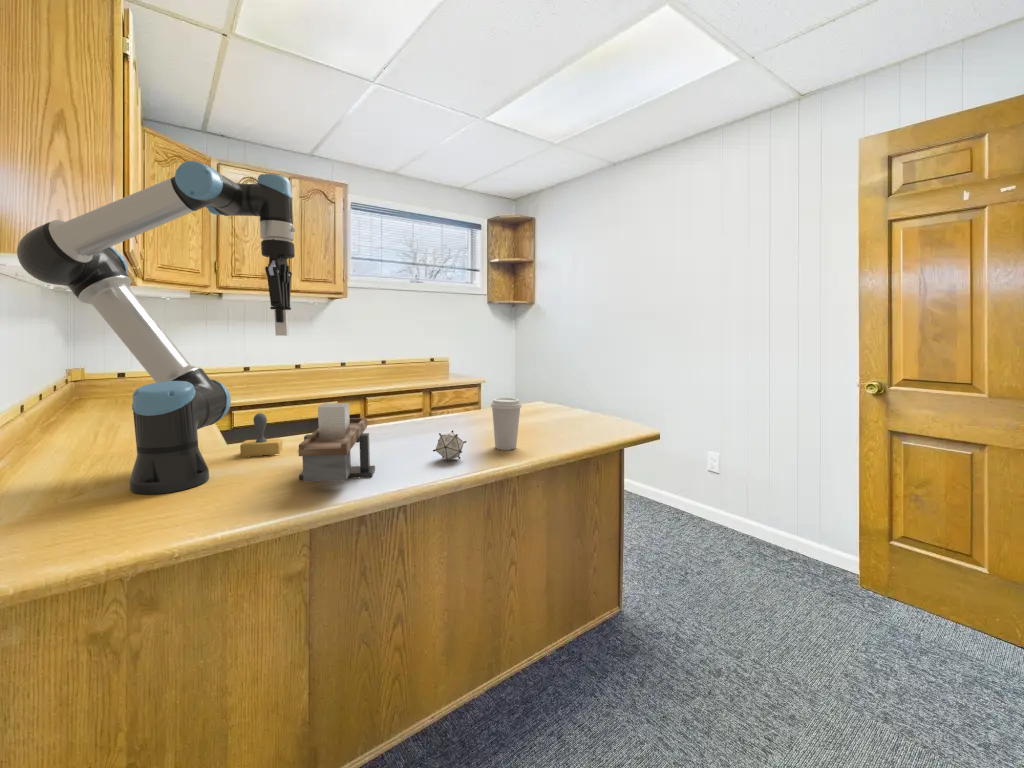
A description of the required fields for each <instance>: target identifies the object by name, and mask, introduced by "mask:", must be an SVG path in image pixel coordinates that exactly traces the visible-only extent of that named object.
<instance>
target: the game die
mask: <svg viewBox="0 0 1024 768" xmlns="http://www.w3.org/2000/svg"><path fill="white" fill-rule="evenodd" d="M438 435H439V439H438V440H437V444H436V447H435V449H433V450H432V452H436V453H438V454H439V455H440V456H441V457H442V459H445V460H446V461H445V462H446V464H448V462H449V461H450V460H453V459H456V458H458V459H459V460H461V457H460V455H461V454H462V453H463V447H464V444H466V443H467V441H466V440H464V441H463V440H462V439H461V438H460V437H458V436H459V434H457V433H454V430H453V429H452V430H451V432H449V433H445V434H442V433H440V432H438Z"/></svg>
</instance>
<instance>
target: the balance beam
mask: <svg viewBox="0 0 1024 768" xmlns="http://www.w3.org/2000/svg"><path fill="white" fill-rule="evenodd" d="M367 428H368V420H367V417H364V418H363V417H361V418H360V417H357V418H356V417H355V418H354V417H352V418H350V433H349V434H348V436H347V437H346V438H326V439H319V427H318V428H317V429H316V430H314V432H313V433H311V435H310V436H309V437H308V438H306V439H305V440H304V439H303V441H302V442H300V443H299V444H298V449H297V451H298V452H297V453H298V457H302V471H303V482H308V483H309V482H330V481H331V482H333V481H347V479H349V478H348V476H349V475H350V473H351V466H352V464H351V463H352V461H351V450H352V448H353V447H354V446H355V444H356V443H360V441H359V435H360V434H361V433H365V430H366V429H367Z"/></svg>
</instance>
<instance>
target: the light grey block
mask: <svg viewBox="0 0 1024 768" xmlns="http://www.w3.org/2000/svg"><path fill="white" fill-rule="evenodd" d="M317 417H318V428H319V439H326V438H346V437H347V436H348V434H349V433H350V402H340V403H339V402H338V403H337V402H334V403H333V402H330V403H327V402H326V403H325V402H324V403H322V404H321V405H319V406H318V407H317Z"/></svg>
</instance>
